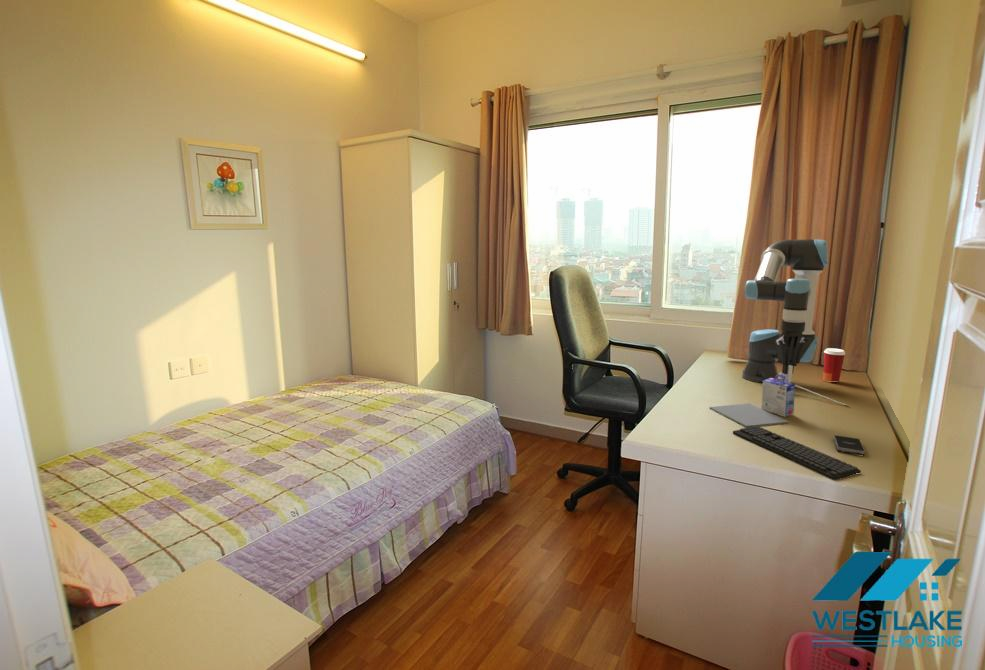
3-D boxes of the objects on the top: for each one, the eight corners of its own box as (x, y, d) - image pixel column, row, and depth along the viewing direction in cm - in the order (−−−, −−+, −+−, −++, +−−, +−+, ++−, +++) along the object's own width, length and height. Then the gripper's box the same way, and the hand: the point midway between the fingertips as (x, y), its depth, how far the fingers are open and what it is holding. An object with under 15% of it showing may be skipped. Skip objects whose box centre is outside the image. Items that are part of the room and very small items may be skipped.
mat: (748, 404, 197) (748, 403, 196) (788, 422, 177) (789, 421, 177) (709, 408, 193) (709, 407, 192) (746, 427, 173) (746, 425, 173)
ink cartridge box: (795, 413, 185) (796, 377, 181) (785, 417, 182) (786, 381, 179) (770, 405, 193) (770, 371, 190) (761, 409, 191) (761, 375, 187)
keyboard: (731, 434, 169) (732, 429, 168) (756, 430, 173) (756, 424, 172) (833, 482, 136) (834, 475, 136) (861, 474, 140) (862, 468, 140)
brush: (843, 420, 193) (850, 399, 189) (774, 391, 214) (779, 372, 210) (848, 417, 195) (855, 397, 191) (779, 389, 216) (784, 370, 212)
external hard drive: (837, 453, 154) (838, 447, 153) (833, 440, 163) (833, 434, 163) (864, 457, 150) (865, 451, 150) (858, 444, 160) (859, 438, 160)
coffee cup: (841, 380, 228) (845, 349, 225) (842, 385, 221) (846, 352, 218) (819, 377, 232) (823, 347, 229) (819, 382, 226) (824, 350, 223)
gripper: (799, 318, 186) (792, 378, 191) (771, 319, 183) (764, 380, 188) (816, 321, 179) (808, 383, 184) (787, 323, 176) (779, 386, 181)
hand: (786, 381), depth 186 cm, fingers closed
